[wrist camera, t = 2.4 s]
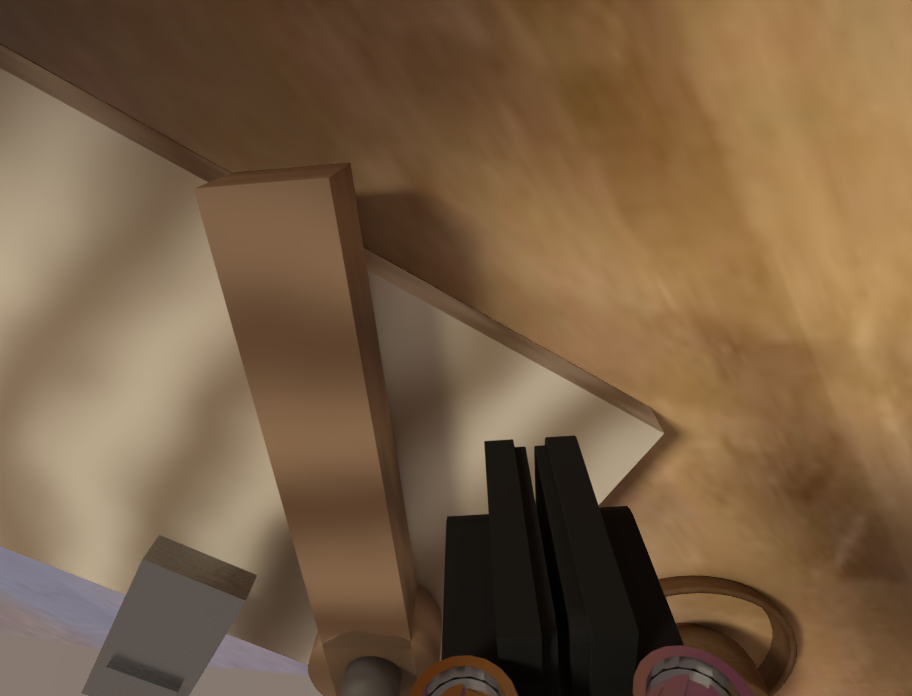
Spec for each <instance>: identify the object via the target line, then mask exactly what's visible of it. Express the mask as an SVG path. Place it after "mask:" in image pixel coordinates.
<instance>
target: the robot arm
mask: <svg viewBox="0 0 912 696" xmlns="http://www.w3.org/2000/svg"><path fill="white" fill-rule="evenodd" d="M484 447H485V463H486V479H487V495H488V511H489V514H481V515H463V516H447V520H446V542H445V571H444V600H443V630H442V659H441V661H439V662H437V663H435V664H434V665H433V666H431V667H430V668H429V669H427V670H426V671H424V672H423V674H422V675H421V676H420V678H419V679H418V680H417V681H416V683H415V684H414V685H413V687H412V690H411V692H410V695H409V696H754V694H753V693H752V691H751V689H750V688H749V687H748V686H747V684H746V683H745V682H744V681H743V679H742V678H741V677H740V676H739V674H738V673H737V672H736V671H735V670H734V669H732V668H731V667H730V666H728V665H727V664H726V663H725V662H723V661H722V660H721V659H720V658H718V657H715V656H713V655H711V654H709V653H707V652H705V651H703V650H701V649H696V648H692V647H688V646H684V644H683V641H682V638H681V636H680V633H679V631H678V628H677V626H676V623H675V621H674V618H673V616H672V613H671V610H670V608H669V605H668V603H667V600H666V598H665V595H664V593H663V590H662V588H661V585H660V582H659V580H658V577H657V575H656V572H655V570H654V567H653V565H652V562H651V560H650V557H649V554H648V552H647V549H646V547H645V544H644V542H643V539H642V537H641V534H640V532H639V529H638V526H637V524H636V521H635V519H634V516H633V514H632V512H631V510H630V509H629V508H628V507H627V506H619V507H602V508H599V506H598V503H597V499H596V496H595V493H594V490H593V487H592V484H591V481H590V478H589V474H588V471H587V468H586V465H585V462H584V459H583V456H582V453H581V449H580V446H579V443H578V440H577V438H576V436H575V435H573V436H557V437H546V438H545V445H541V446H534V464H535V498H534V492H533V486H532V480H531V475H530V469H529V463H528V457H527V452H526V447H514V441H513V439H510V440H494V441H484ZM535 502H536V503H535Z"/></svg>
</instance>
